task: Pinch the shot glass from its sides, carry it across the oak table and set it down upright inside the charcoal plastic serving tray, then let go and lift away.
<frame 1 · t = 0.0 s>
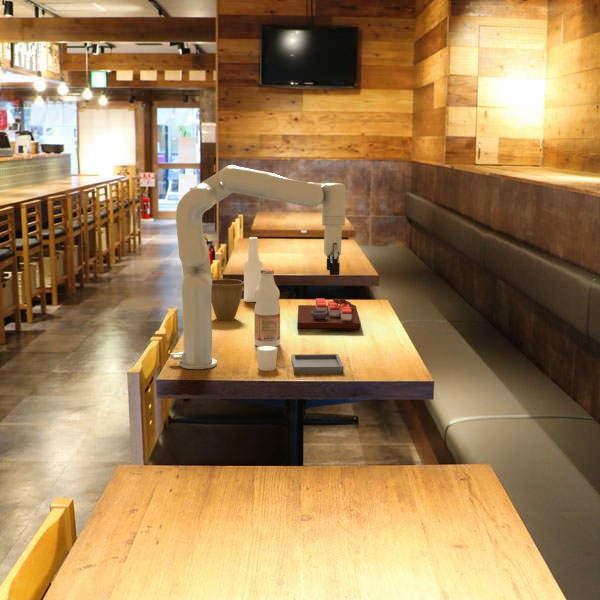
hand: (332, 272, 276), 31 cm above the table, fingers open, 9 cm apart
fruit juice: (267, 345, 307), on the table
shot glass: (267, 368, 276), on the table
alcohol: (253, 301, 388), on the table
serving tray: (316, 367, 277), on the table
plant pot: (226, 319, 350), on the table
sushi: (327, 324, 344), on the table
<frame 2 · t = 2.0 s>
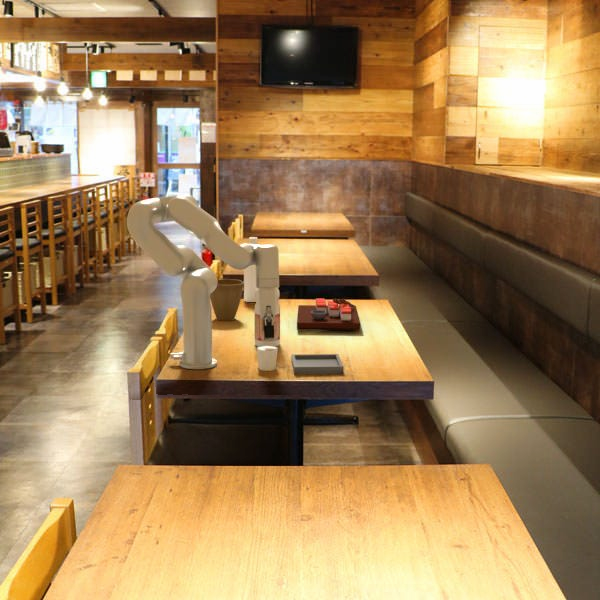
hand: (268, 334, 274), 12 cm above the table, fingers open, 9 cm apart
nothing on the table moved.
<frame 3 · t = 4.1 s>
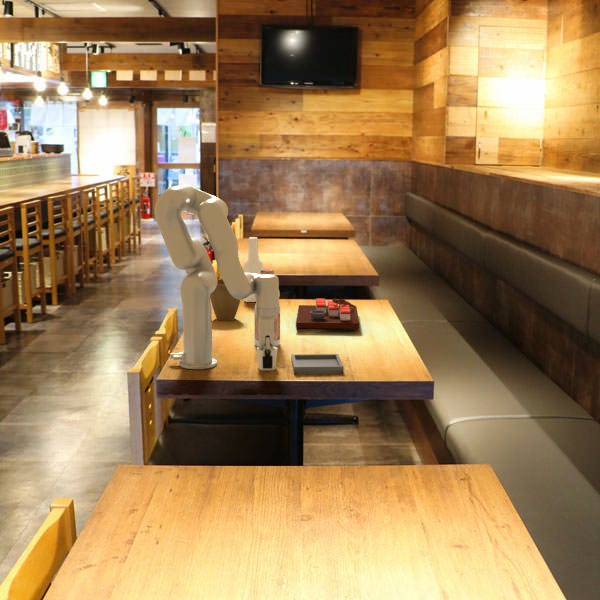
hand: (267, 364, 276), 1 cm above the table, fingers closed on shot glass, 6 cm apart
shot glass: (267, 368, 276), on the table, touching gripper
everything else where it was.
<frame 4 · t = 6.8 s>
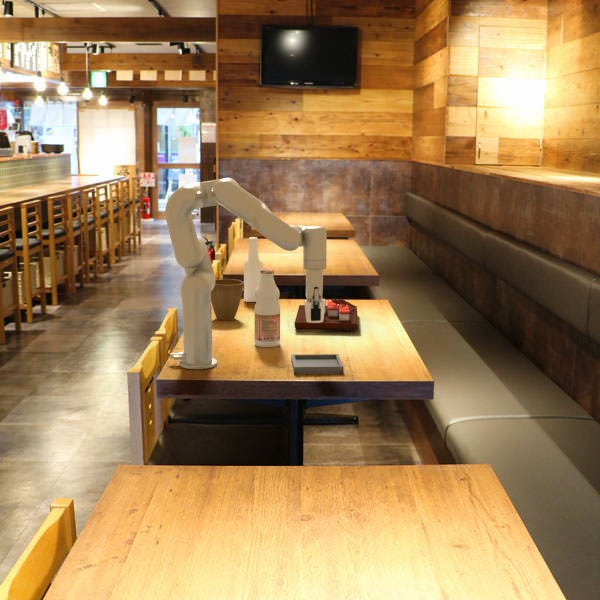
hand: (314, 317, 274), 17 cm above the table, fingers closed on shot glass, 6 cm apart
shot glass: (314, 321, 274), point 16 cm above the table, touching gripper
everything else where it was.
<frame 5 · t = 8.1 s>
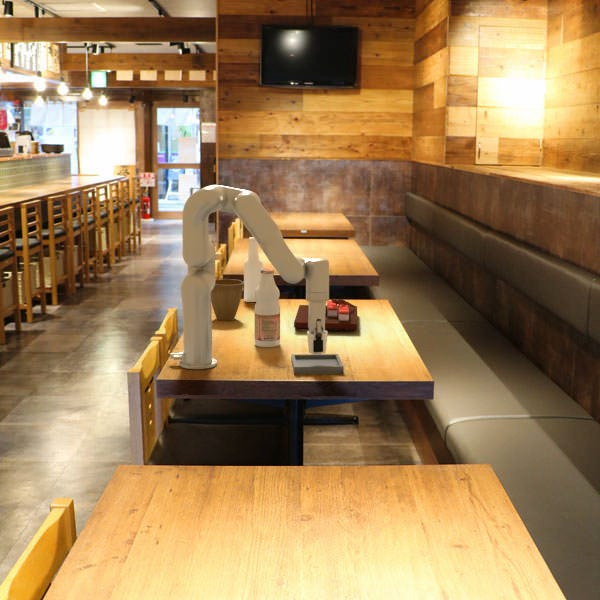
hand: (317, 348, 276), 6 cm above the table, fingers closed on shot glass, 6 cm apart
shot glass: (317, 352, 276), point 5 cm above the table, touching gripper
everything else where it was.
when the fingers open (3 cm above the table, at t = 9.4 s): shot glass stays where it is, resting on serving tray.
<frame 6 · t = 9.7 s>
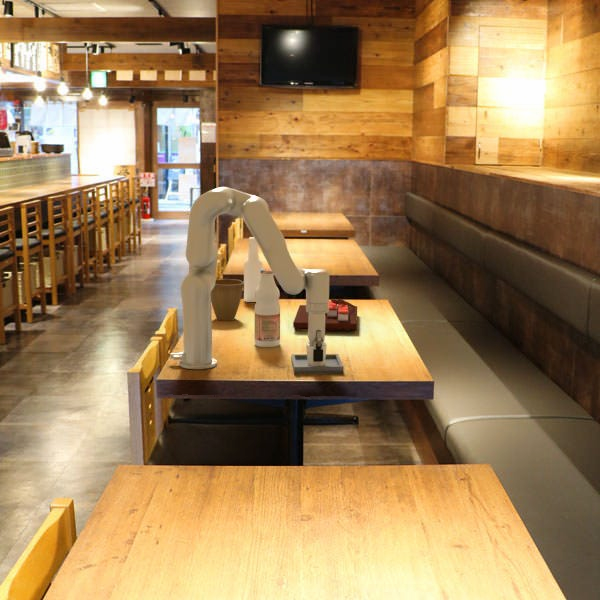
hand: (316, 357, 276), 3 cm above the table, fingers open, 9 cm apart
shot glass: (316, 364, 277), point 1 cm above the table, touching serving tray
everything else where it was.
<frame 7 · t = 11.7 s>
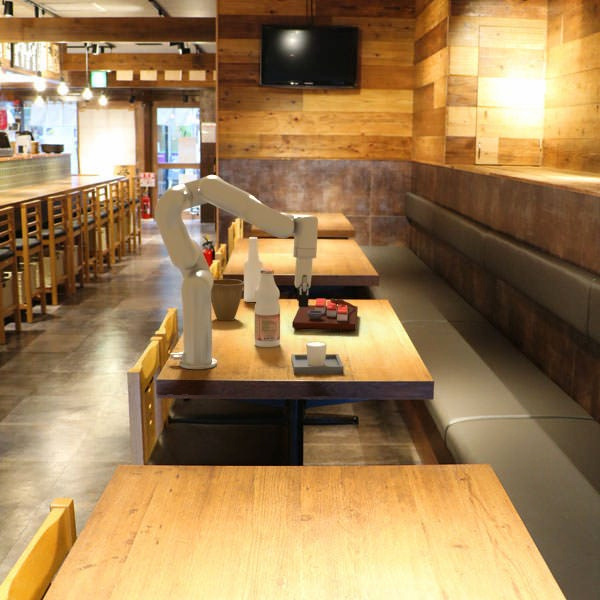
hand: (302, 303, 276), 21 cm above the table, fingers open, 9 cm apart
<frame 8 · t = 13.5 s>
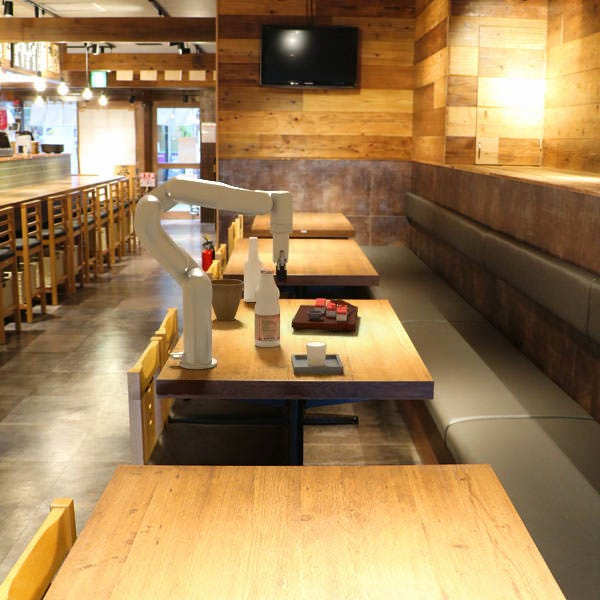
hand: (281, 279, 280), 28 cm above the table, fingers open, 9 cm apart
at the end: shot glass inside the target area on the serving tray (0.2 cm from its centre), point 1.0 cm above the serving tray's base; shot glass tilted 0°; the gripper is holding nothing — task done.
